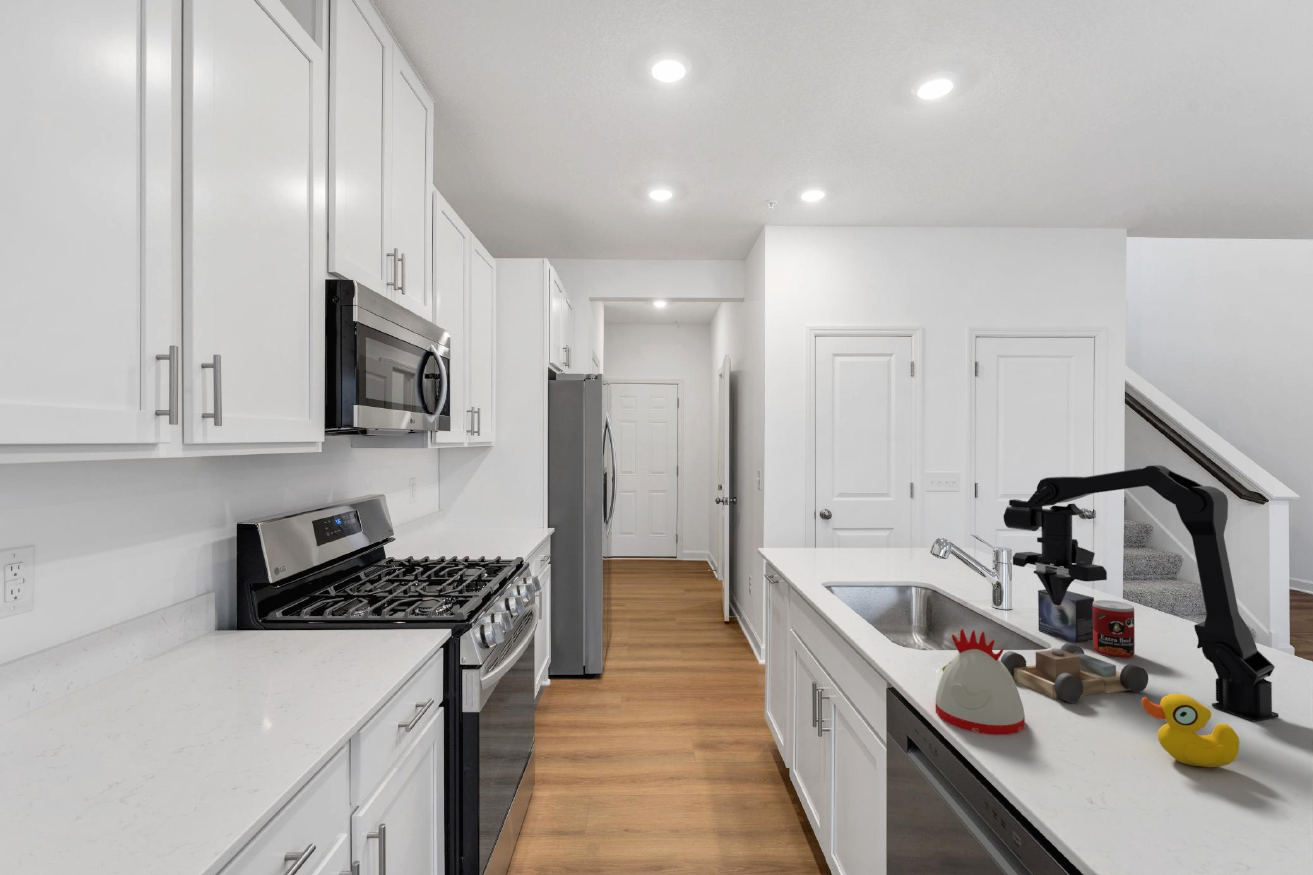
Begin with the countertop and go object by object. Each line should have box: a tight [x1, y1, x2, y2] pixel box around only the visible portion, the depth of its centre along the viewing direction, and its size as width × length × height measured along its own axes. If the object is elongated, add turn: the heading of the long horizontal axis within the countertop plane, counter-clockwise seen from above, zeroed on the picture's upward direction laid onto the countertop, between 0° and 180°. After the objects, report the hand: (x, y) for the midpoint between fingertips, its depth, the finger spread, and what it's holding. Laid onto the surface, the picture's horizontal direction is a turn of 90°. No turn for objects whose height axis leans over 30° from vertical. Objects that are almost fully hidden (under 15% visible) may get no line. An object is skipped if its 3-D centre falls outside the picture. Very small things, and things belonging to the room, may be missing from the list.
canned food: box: [1092, 599, 1136, 659], centre depth 141 cm, size 8×8×11 cm
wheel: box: [1060, 642, 1085, 654], centre depth 132 cm, size 2×5×5 cm, turn 106°
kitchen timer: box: [935, 628, 1026, 736], centre depth 109 cm, size 14×14×15 cm
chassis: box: [1000, 650, 1149, 704], centre depth 123 cm, size 14×21×5 cm
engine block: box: [1035, 647, 1080, 683], centre depth 122 cm, size 4×6×7 cm
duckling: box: [1141, 693, 1240, 768], centre depth 93 cm, size 11×5×10 cm, turn 66°
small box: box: [1037, 588, 1095, 644], centre depth 154 cm, size 11×6×10 cm, turn 17°
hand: (1057, 605), depth 137 cm, fingers closed
